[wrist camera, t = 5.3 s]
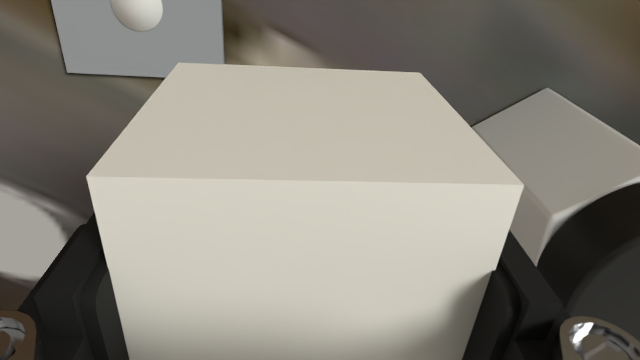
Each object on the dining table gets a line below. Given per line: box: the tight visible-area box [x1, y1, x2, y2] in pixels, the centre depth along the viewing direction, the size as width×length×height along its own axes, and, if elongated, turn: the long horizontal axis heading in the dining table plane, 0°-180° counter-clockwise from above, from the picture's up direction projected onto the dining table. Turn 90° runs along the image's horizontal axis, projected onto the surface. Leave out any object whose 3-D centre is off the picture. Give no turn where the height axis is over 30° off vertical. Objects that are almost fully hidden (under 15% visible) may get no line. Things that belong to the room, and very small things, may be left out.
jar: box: [472, 88, 640, 342], centre depth 21 cm, size 9×8×12 cm
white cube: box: [86, 63, 524, 360], centre depth 10 cm, size 6×6×6 cm
